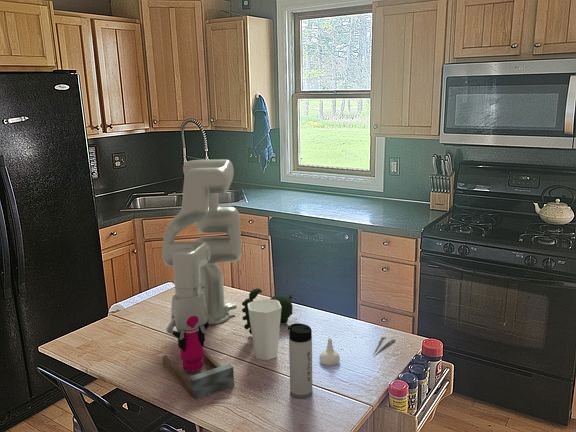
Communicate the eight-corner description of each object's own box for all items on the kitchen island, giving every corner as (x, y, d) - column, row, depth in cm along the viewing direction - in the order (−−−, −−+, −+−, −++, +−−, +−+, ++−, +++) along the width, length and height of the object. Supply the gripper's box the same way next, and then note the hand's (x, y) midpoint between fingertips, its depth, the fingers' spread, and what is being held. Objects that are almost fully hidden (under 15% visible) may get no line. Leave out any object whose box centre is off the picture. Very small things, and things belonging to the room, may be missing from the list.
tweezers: (382, 338, 175) (382, 333, 174) (395, 341, 172) (395, 336, 172) (362, 364, 160) (361, 358, 160) (376, 368, 158) (376, 362, 157)
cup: (287, 350, 167) (286, 301, 163) (276, 365, 157) (275, 313, 154) (255, 345, 170) (254, 297, 167) (243, 359, 161) (241, 309, 157)
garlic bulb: (325, 370, 155) (327, 347, 153) (315, 359, 160) (316, 337, 158) (343, 364, 158) (344, 342, 156) (332, 354, 163) (333, 332, 161)
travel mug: (288, 386, 146) (286, 321, 141) (310, 385, 146) (310, 320, 142) (289, 399, 139) (288, 331, 135) (313, 397, 140) (313, 330, 135)
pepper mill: (199, 373, 151) (195, 310, 146) (177, 371, 152) (171, 309, 148) (208, 361, 158) (204, 300, 153) (186, 359, 159) (182, 299, 155)
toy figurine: (260, 349, 171) (303, 317, 189) (254, 298, 165) (300, 271, 184) (239, 342, 177) (283, 312, 195) (233, 292, 171) (279, 266, 190)
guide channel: (199, 352, 166) (198, 335, 165) (234, 385, 147) (233, 367, 145) (163, 363, 160) (161, 345, 159) (193, 400, 140) (192, 380, 139)
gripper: (209, 280, 157) (212, 335, 161) (155, 293, 148) (160, 350, 152) (220, 288, 151) (223, 344, 155) (164, 301, 142) (169, 360, 146)
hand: (192, 346), depth 154 cm, fingers closed on pepper mill, 5 cm apart
